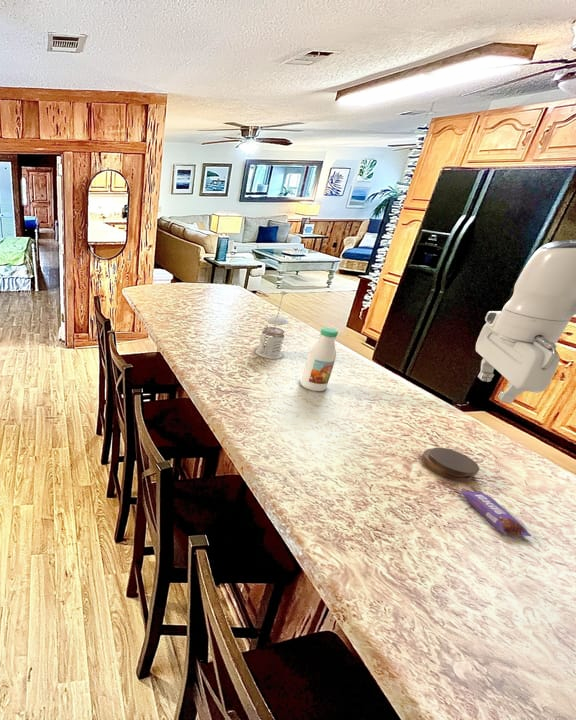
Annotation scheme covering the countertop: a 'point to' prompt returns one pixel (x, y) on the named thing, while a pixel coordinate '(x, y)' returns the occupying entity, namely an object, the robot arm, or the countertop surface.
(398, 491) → the countertop surface
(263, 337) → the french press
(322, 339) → the milk bottle
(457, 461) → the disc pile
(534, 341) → the robot arm
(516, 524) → the snack package
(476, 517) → the countertop surface
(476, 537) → the countertop surface
